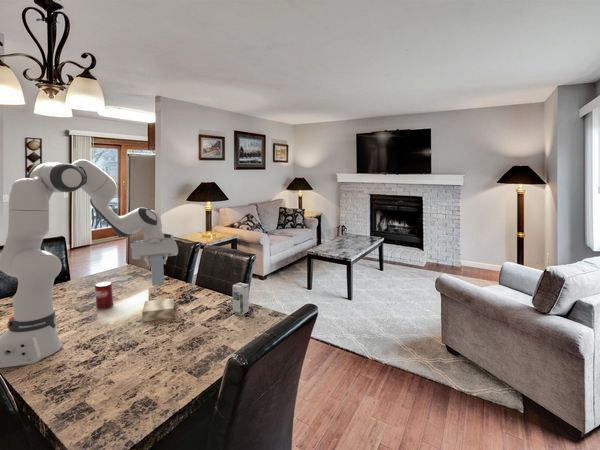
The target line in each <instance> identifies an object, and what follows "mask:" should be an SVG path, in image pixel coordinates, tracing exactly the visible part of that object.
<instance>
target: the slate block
mask: <svg viewBox="0 0 600 450" xmlns="http://www.w3.org/2000/svg"><path fill="white" fill-rule="evenodd" d="M149 259H150V260H149V261H151V266H150V273H151V274H150V276H151V278H150V279H151V284H152V286H153V287H154V286H160V285H161V286H162V285H165V273H164V272H165V269H164V264H163V259H164V257H163V256H162V255H156V256H150V258H149Z"/></svg>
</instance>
